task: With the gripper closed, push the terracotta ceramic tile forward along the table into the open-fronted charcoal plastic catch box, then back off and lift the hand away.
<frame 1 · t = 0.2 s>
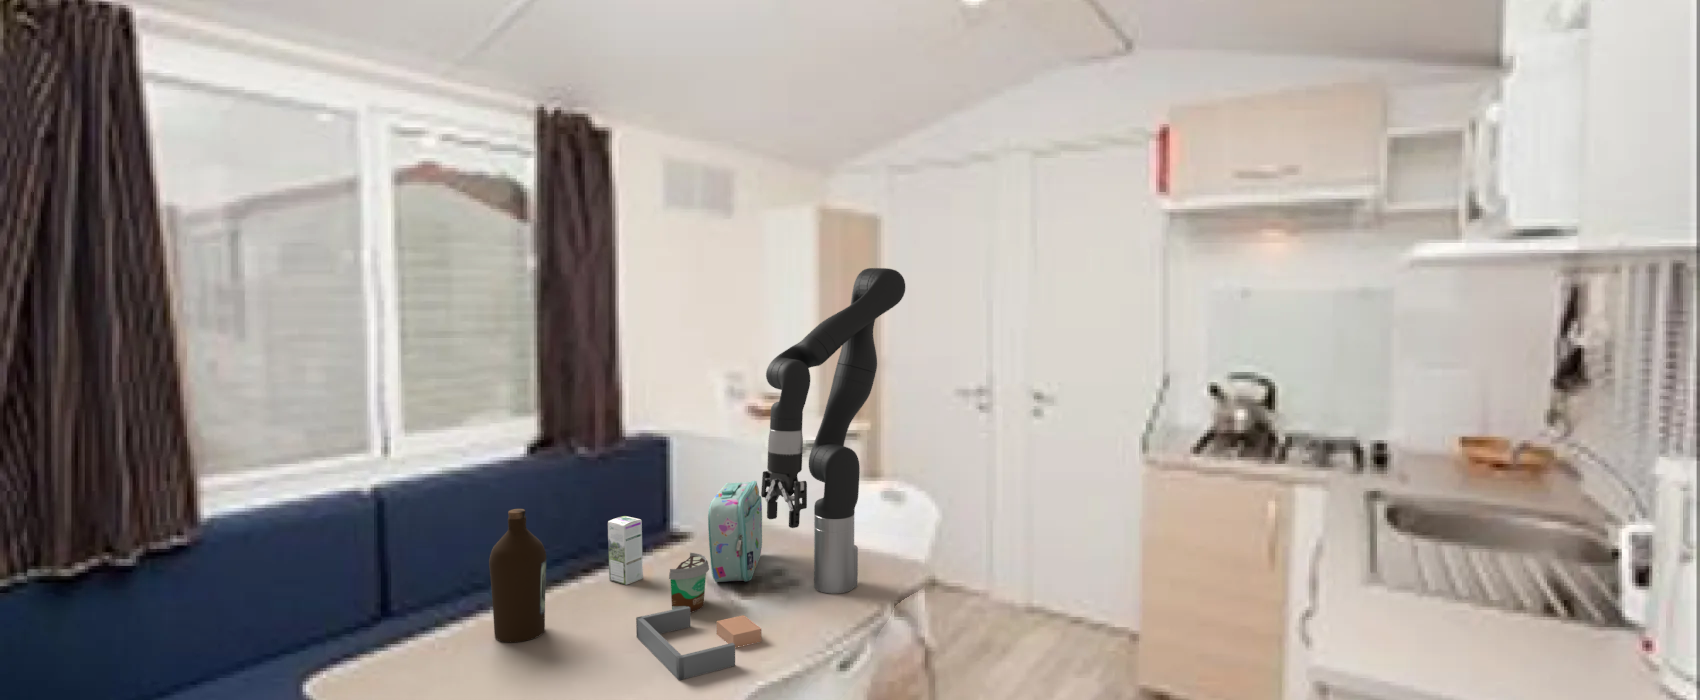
hand: (782, 522, 192), 18 cm above the table, tool pointing down, fingers open, 8 cm apart
olive oil: (520, 634, 175), on the table
catch box: (686, 650, 167), on the table
food container: (694, 607, 189), on the table
tile: (738, 639, 173), on the table
lunch box: (737, 571, 213), on the table
syrup box: (626, 580, 206), on the table
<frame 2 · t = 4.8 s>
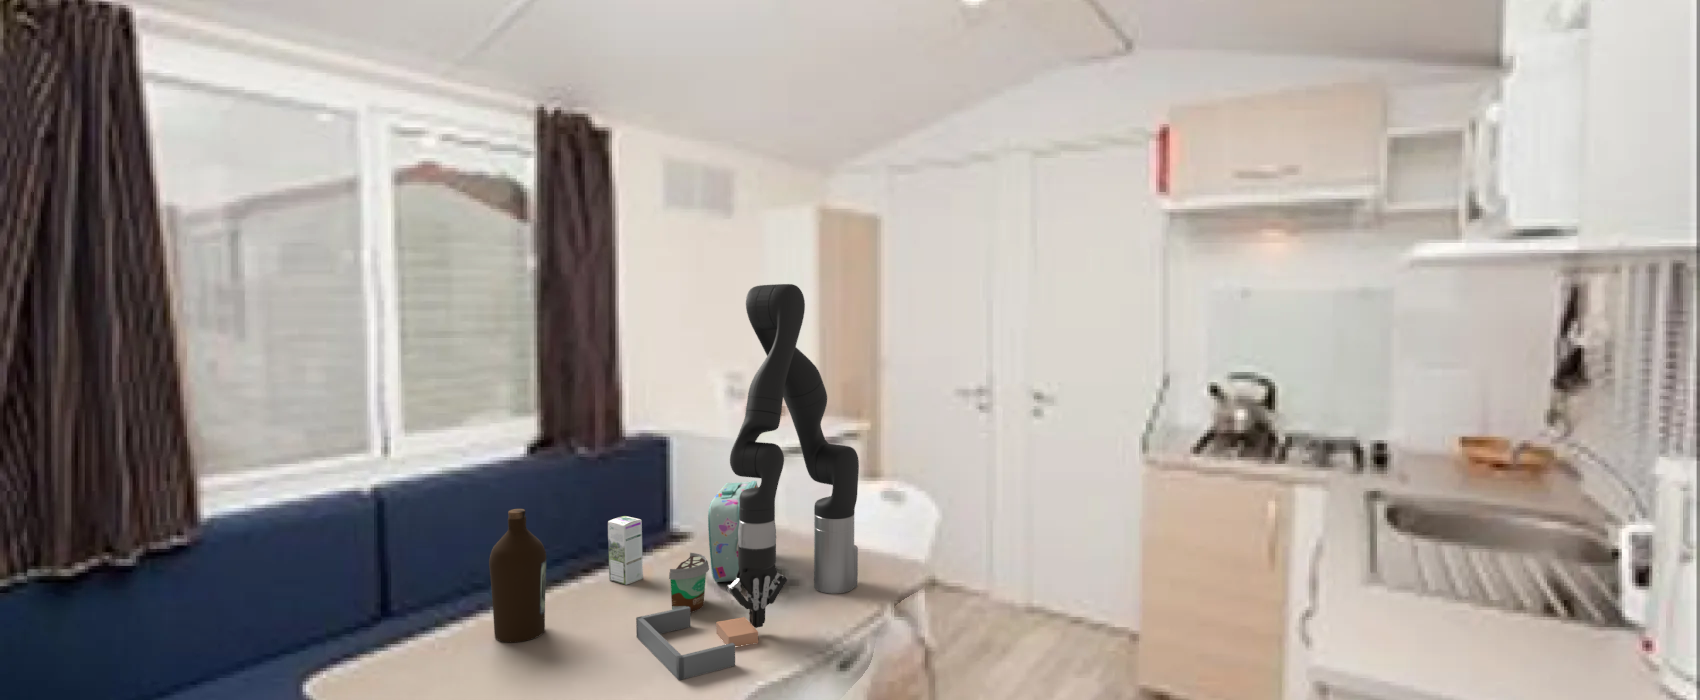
hand: (757, 626, 175), 2 cm above the table, tool pointing down, fingers closed
nothing on the table moved.
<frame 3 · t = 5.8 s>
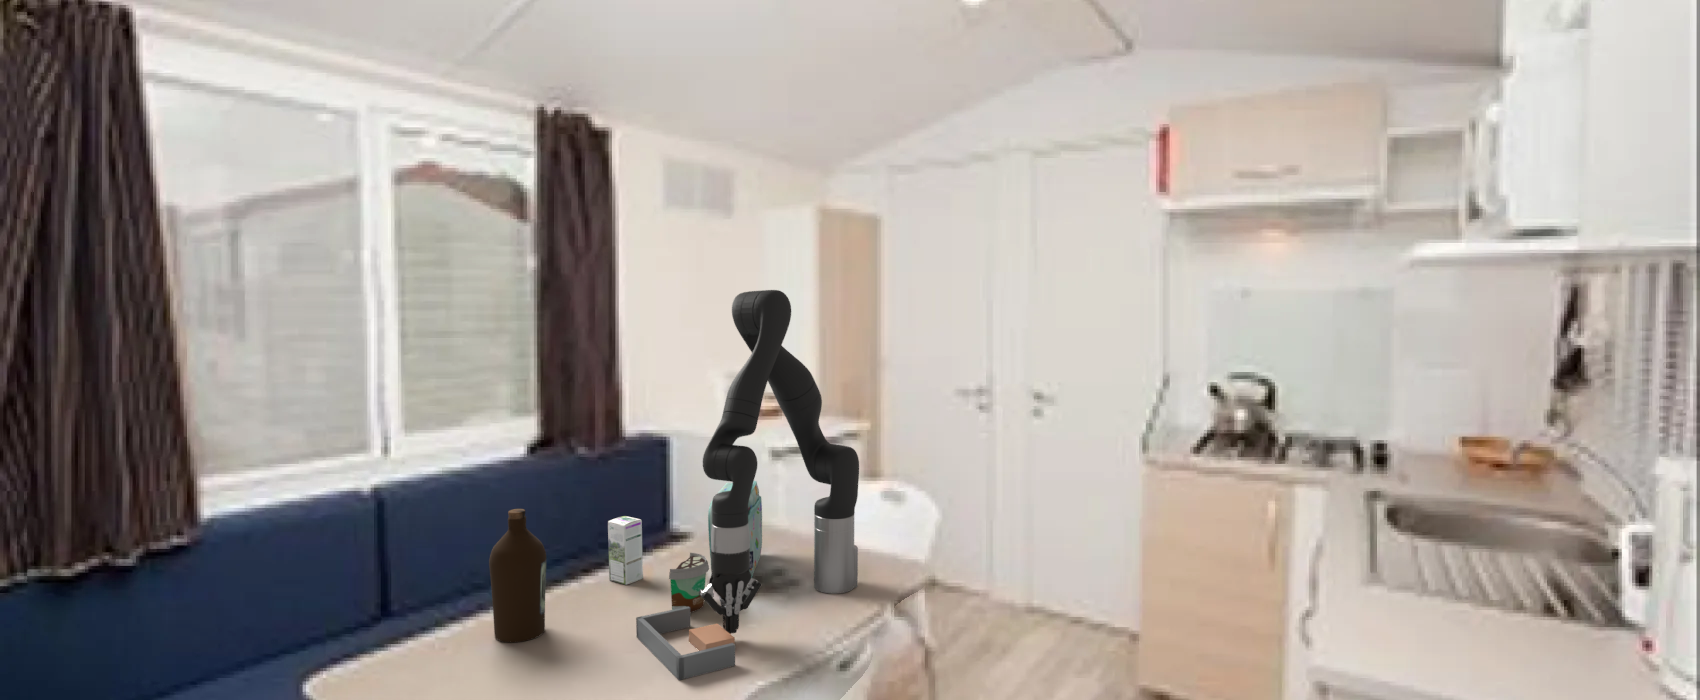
hand: (730, 631, 172), 2 cm above the table, tool pointing down, fingers closed
tile: (711, 648, 169), on the table
everything else where it was.
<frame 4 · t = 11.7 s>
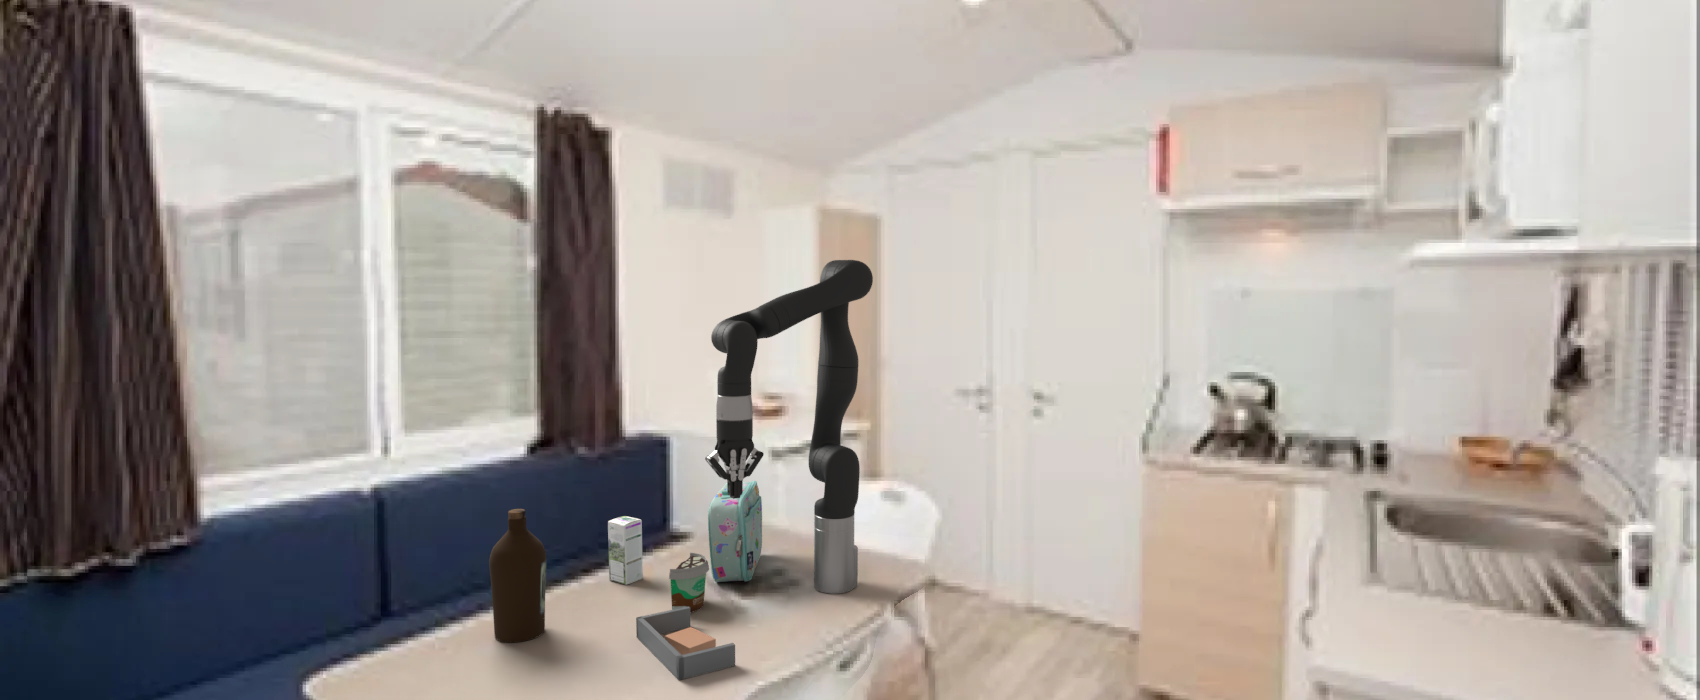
hand: (734, 497, 184), 25 cm above the table, tool pointing down, fingers closed
tile: (690, 652, 167), on the table
everything else where it was.
at the end: tile inside the target area (1.0 cm from its centre), on the table; tile moved 10.5 cm from its start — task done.
